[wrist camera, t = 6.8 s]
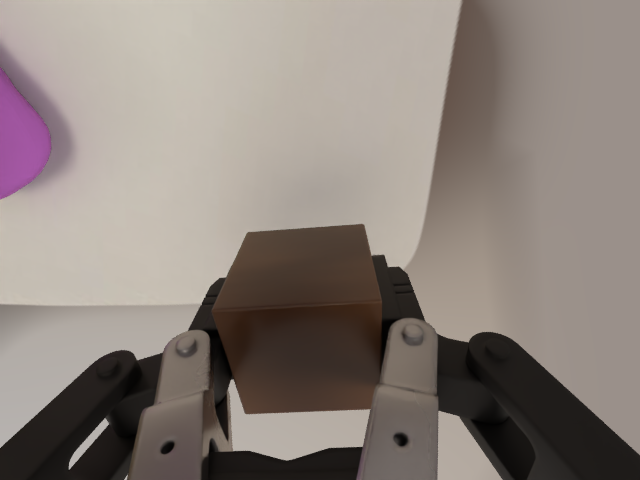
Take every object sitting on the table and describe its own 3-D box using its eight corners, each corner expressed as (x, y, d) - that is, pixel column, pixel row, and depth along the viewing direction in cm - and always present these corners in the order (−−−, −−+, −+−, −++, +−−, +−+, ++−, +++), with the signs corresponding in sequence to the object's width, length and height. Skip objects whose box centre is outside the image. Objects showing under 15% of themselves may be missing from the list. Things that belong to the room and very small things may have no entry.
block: (364, 223, 12) (382, 300, 8) (366, 313, 14) (382, 409, 10) (246, 231, 12) (210, 310, 8) (266, 319, 14) (244, 415, 10)
